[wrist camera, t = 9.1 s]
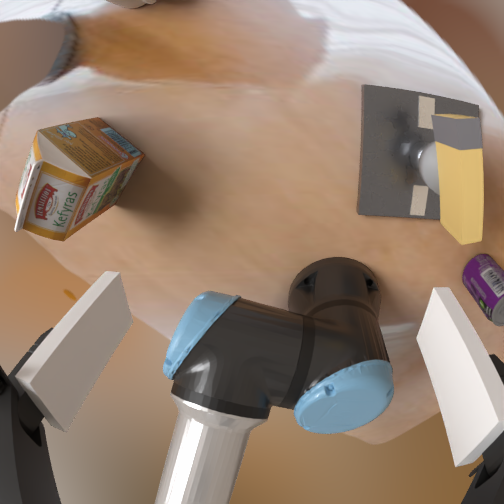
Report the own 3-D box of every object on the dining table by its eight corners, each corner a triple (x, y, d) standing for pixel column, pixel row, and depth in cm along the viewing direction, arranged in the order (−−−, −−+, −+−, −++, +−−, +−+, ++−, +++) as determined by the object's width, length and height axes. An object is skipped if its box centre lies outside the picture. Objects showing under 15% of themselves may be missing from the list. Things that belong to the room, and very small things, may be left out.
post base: (461, 218, 41) (482, 236, 34) (356, 211, 43) (366, 230, 37) (473, 104, 32) (499, 108, 26) (361, 85, 35) (374, 81, 29)
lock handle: (422, 219, 35) (447, 248, 28) (411, 114, 29) (440, 120, 22) (463, 212, 33) (494, 238, 26) (456, 111, 28) (492, 117, 21)
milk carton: (114, 205, 48) (41, 258, 31) (72, 168, 46) (-8, 207, 29) (144, 154, 43) (65, 191, 26) (98, 117, 41) (9, 137, 24)
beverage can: (455, 284, 46) (482, 327, 35) (469, 248, 43) (503, 287, 32) (482, 288, 45) (510, 329, 35) (497, 255, 42) (531, 292, 32)
